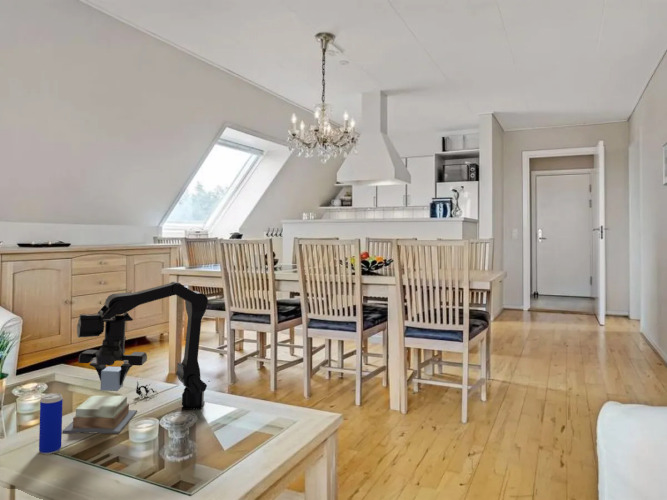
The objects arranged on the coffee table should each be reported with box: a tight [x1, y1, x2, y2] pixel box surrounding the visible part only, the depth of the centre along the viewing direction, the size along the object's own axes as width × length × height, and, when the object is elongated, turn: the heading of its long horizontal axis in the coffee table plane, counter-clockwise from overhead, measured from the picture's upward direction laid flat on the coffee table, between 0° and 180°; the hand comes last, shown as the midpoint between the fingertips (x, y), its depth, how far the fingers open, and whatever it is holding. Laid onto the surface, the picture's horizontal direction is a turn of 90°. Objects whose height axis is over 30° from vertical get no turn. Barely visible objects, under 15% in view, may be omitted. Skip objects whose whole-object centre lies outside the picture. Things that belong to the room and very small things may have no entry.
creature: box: [135, 381, 158, 399], centre depth 169 cm, size 8×5×8 cm
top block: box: [100, 365, 124, 392], centre depth 146 cm, size 5×5×6 cm
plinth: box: [72, 395, 130, 428], centre depth 146 cm, size 12×12×6 cm
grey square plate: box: [62, 409, 138, 434], centre depth 146 cm, size 16×16×1 cm
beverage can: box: [38, 392, 64, 455], centre depth 126 cm, size 5×5×15 cm
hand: (111, 384), depth 146 cm, fingers closed on top block, 5 cm apart
